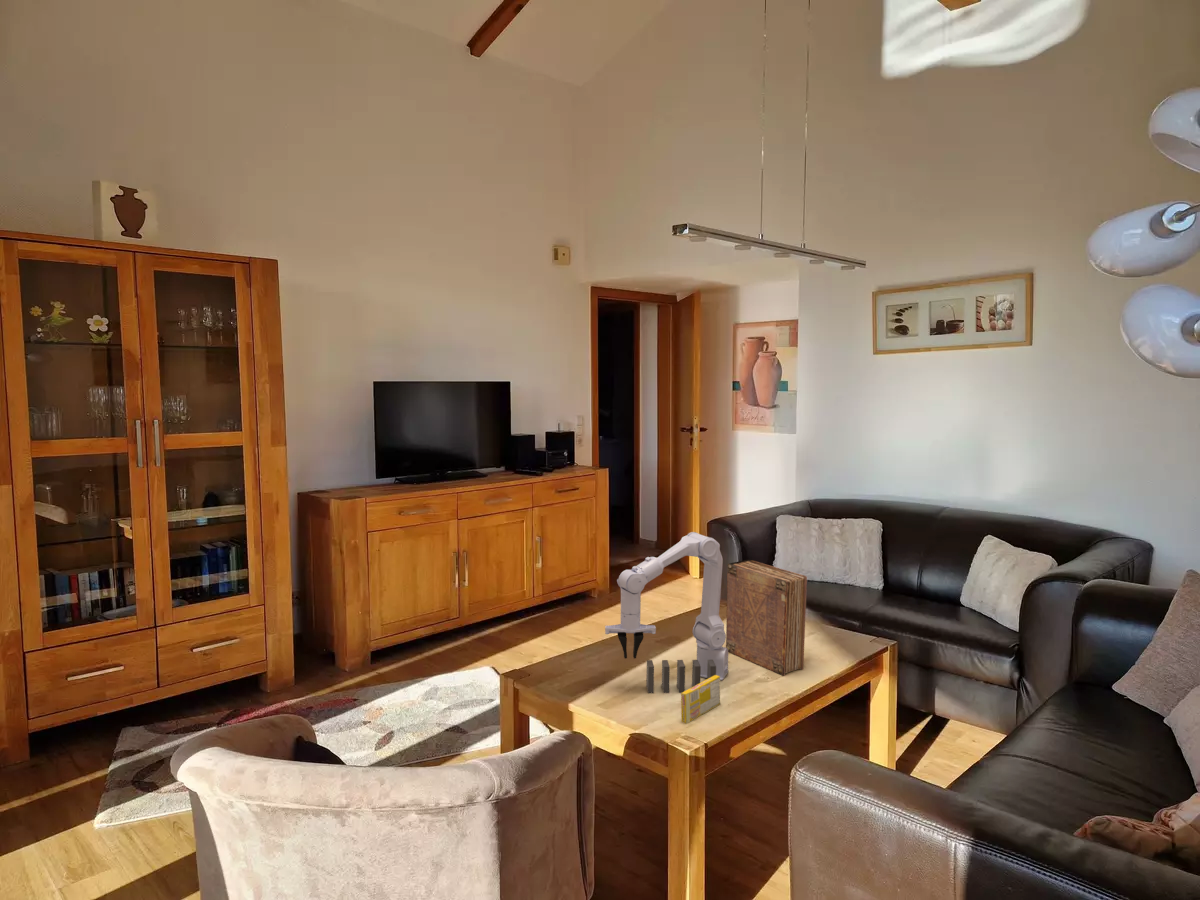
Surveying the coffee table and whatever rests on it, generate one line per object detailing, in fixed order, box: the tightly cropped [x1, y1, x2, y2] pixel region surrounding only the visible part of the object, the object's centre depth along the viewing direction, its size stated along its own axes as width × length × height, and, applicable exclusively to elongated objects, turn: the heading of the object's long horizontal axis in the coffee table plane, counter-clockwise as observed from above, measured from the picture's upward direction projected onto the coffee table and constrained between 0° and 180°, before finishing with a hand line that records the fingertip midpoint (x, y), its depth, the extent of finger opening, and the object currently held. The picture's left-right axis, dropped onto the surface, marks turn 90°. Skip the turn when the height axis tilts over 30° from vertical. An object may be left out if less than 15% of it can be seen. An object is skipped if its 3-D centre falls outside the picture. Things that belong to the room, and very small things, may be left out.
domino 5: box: [706, 660, 716, 680], centre depth 230 cm, size 2×5×8 cm, turn 2°
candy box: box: [680, 675, 721, 724], centre depth 215 cm, size 16×2×8 cm, turn 138°
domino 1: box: [645, 659, 655, 694], centre depth 229 cm, size 2×5×8 cm, turn 3°
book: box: [725, 559, 808, 677], centre depth 251 cm, size 25×9×30 cm, turn 35°
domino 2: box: [661, 659, 671, 694], centre depth 230 cm, size 2×5×8 cm, turn 3°
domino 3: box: [676, 659, 686, 694], centre depth 230 cm, size 2×5×8 cm, turn 2°
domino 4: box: [691, 659, 701, 688], centre depth 230 cm, size 2×5×8 cm, turn 2°
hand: (630, 657), depth 229 cm, fingers open, 2 cm apart
